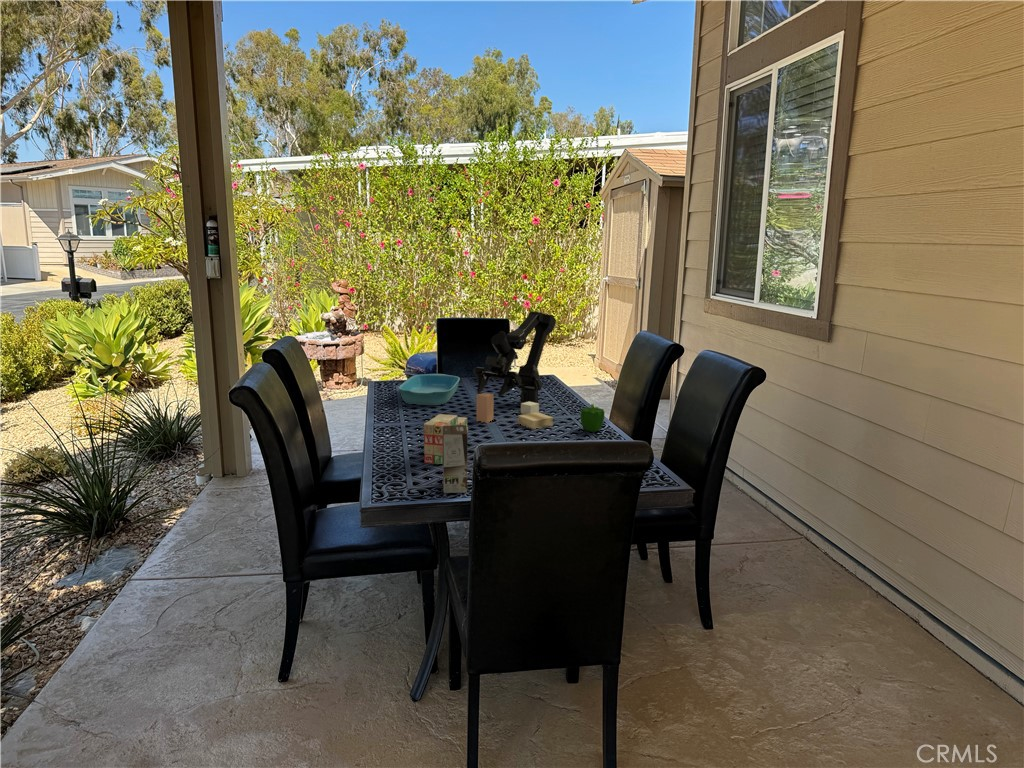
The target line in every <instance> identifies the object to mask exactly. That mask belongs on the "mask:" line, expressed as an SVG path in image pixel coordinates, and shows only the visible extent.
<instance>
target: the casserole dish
mask: <svg viewBox="0 0 1024 768" xmlns="http://www.w3.org/2000/svg"><path fill="white" fill-rule="evenodd" d="M459 382H460V377H459V376H456V375H450V374H444V373H427V374H425V373H424V374H415V375H412V376H411V377H409V378H407V379H406V380H405V381H404V382H403V383H401V384H400V385H399V386H398V391H399V393H400V396H401V399H402V400H403V402H404V403H406V404H407V403H408V404H407V405H412V404H417V405H416V406H441V404H442V405H445V404H447V402H449V401H450V399H451V398H452V397H453V396H454V395H455V393H456V391H457V390H458V387H459Z"/></svg>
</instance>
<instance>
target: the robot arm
mask: <svg viewBox="0 0 1024 768" xmlns="http://www.w3.org/2000/svg"><path fill="white" fill-rule="evenodd" d="M556 324H557V319H556V317H555V316H554V315H553V314H546V313H543V312H541V311H533V310H532V311H530V312H529V313H528V316H527V317H526V318H525V319H524V320H523V322H522V323H521V324H520V325H519V326H518V327H517V328H516V329H514V330H512V331H511V330H510V332H508V333H506V332H505V330H504V331H502V330H500V331H499V332H498V333H496V334H494V335H493V336H491V338H490V343H491V344H492V346H493V348H494V349H495V352H496V353H498V354H499V356H497V357H495V356H487V357H486V360H485V366H488V367H489V368H488V369H489V371H487V369H486V367H480V366H476V367H475V368H474V370H473V374H474V376H475V377H476V378H477V381H478V382H477V395H478V394H481V392H482V391H483V390H484V388H485V387H486V386H487V384H488V381H489V379H490V378H492V379H498V380H503V383H502V385H501V388H500V390H499V391H498V394H497V396H498V397H499V398H500V397H502V396H503V395H505V394H506V393H507V392H509V391H510V390H512V389H513V388H518V389H521V392H520V401H518V403H519V404H521V403H525V402H529V401H530V402H534V403H539V405H540V404H541V402H539V391H541V390H542V387H543V383H542V381H541V379H540V378H539V377H540V372H539V369H538V367H539V364H540V360H541V356H542V354H543V351H544V347H545V344H546V340H547V336H549V335H550V334H551V333H552V332H553V331H554V328H555V326H556ZM533 330H534V332H535V333H534V336H533V340H532V343H531V346H530V350H529V352H528V356H527V360H526V363H525V364H524V365H520V366H519V370H518V371H512V365H513V362H514V360H518V359H519V355H518V352H517V351H516V350H521V351H522V350H523V348H524V347H525V346H526V343H527V337H528V336H529V335H530V334H531V333H532V331H533Z"/></svg>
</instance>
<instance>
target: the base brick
mask: <svg viewBox="0 0 1024 768" xmlns="http://www.w3.org/2000/svg"><path fill="white" fill-rule="evenodd" d="M517 424H518V425H520V424H521V426H523V427H525V426H526V427H525V428H528V427H529V428H528V429H530V428H531V429H530V430H537V429H536V428H539V429H543V428H542V427H544V428H548V426H550V427H553V426H554V417H552V416H549V415H547V414H544V413H541V412H540V411H539V412H536V413H530V414H520V415H519V414H518V418H517Z"/></svg>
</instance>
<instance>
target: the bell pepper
mask: <svg viewBox="0 0 1024 768" xmlns="http://www.w3.org/2000/svg"><path fill="white" fill-rule="evenodd" d="M605 414H606V412H605V410H604V408H600V407H599V406H595V405H594V403H591V404H590V407H589V406H585V407H584V408H581V410H580V422H581V427H582V429H583V430H585V431H587V432H591V433H593V432H595V433H597V432H598V431H599V430H601V428H602V427H603V423H604V419H605Z"/></svg>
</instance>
